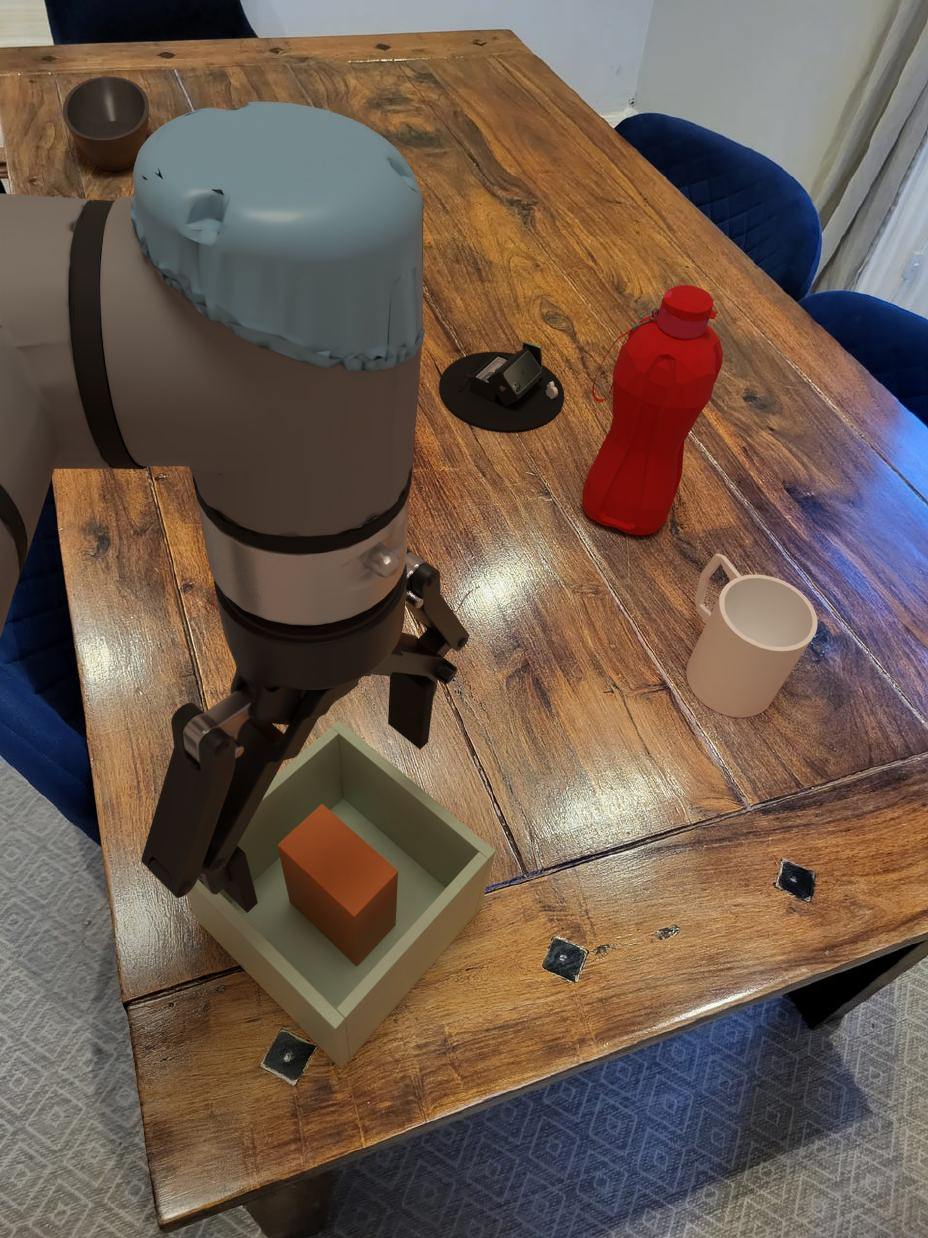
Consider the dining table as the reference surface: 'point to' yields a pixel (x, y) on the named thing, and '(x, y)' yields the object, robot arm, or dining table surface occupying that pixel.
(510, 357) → the black round base
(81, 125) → the bowl
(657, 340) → the water bottle
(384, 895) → the orange rectangular prism
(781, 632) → the cup
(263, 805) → the open square bin
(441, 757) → the dining table surface
